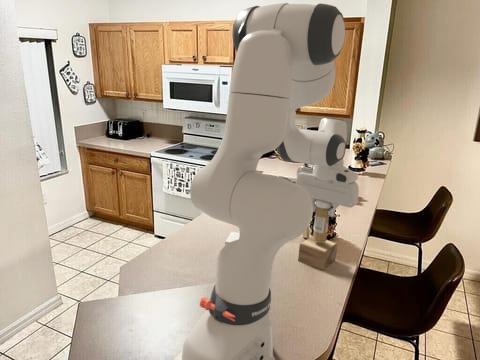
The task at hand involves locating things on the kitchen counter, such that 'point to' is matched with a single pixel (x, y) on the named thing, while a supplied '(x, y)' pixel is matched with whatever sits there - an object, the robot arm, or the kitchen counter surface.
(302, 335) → the kitchen counter surface
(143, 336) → the kitchen counter surface
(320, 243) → the tan cardboard box
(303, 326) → the kitchen counter surface
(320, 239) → the sprinkles bottle
